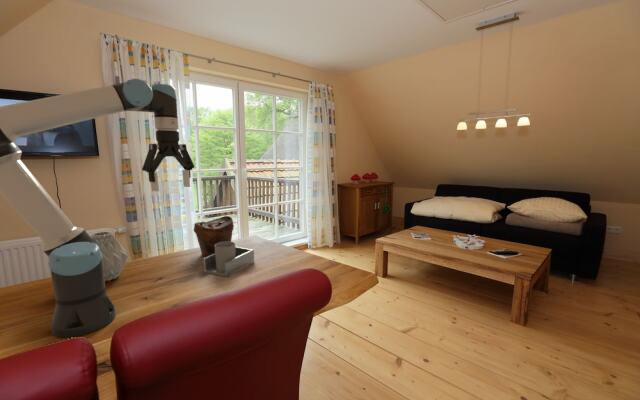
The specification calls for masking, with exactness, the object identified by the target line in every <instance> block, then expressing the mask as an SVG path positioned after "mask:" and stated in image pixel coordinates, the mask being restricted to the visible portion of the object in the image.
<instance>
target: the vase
mask: <svg viewBox="0 0 640 400" xmlns="http://www.w3.org/2000/svg"><path fill="white" fill-rule="evenodd" d="M90 237H91V238H93V239H94V240H95V241H97V242H98V243H99V245H100V247H101V250H102V264H103V272H104V280H105V282H108V281H110V282H111V280H116V279H117V278H119V277H120V275H121V272H122V271H124V268H125V266H126V263H127V260H128V258H129V254H130V253H129V252H128V250H127V249H126V248H125V247H123V246H122V244H121V242H120V240H119V239H118V238H116V237H115V235H114V234H113V233H112V232H111V231H101V232H98V231H97V232H95V233H92V234H91V236H90Z"/></svg>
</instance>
